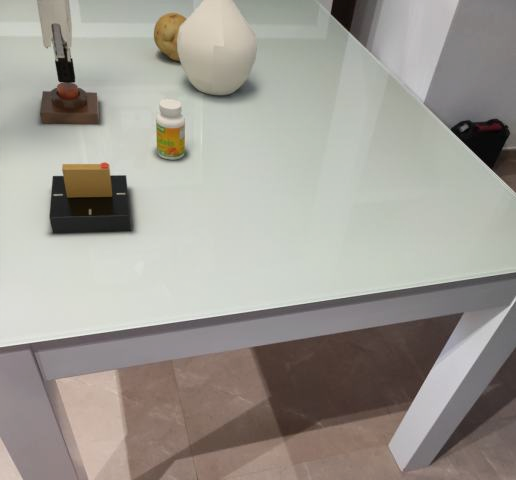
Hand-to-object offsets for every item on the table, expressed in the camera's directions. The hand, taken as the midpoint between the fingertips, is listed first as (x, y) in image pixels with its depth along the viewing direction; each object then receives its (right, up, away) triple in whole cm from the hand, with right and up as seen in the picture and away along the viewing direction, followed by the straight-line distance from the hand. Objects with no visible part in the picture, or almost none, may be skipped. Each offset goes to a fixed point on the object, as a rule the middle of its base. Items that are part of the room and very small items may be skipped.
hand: (67, 80), depth 103 cm
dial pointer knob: (+11, -29, -20) cm, 36 cm away
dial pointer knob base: (+11, -31, -17) cm, 37 cm away
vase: (+28, +10, +22) cm, 37 cm away
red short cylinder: (0, -2, +2) cm, 3 cm away
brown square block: (-1, -4, +5) cm, 6 cm away
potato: (+16, +22, +31) cm, 42 cm away
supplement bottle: (+21, -15, -2) cm, 26 cm away
